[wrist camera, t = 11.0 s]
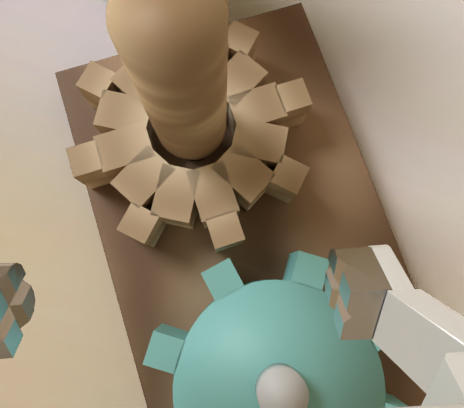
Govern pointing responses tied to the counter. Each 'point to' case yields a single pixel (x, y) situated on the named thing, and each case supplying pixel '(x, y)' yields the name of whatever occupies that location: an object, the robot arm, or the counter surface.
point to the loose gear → (187, 120)
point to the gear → (269, 347)
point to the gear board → (252, 221)
